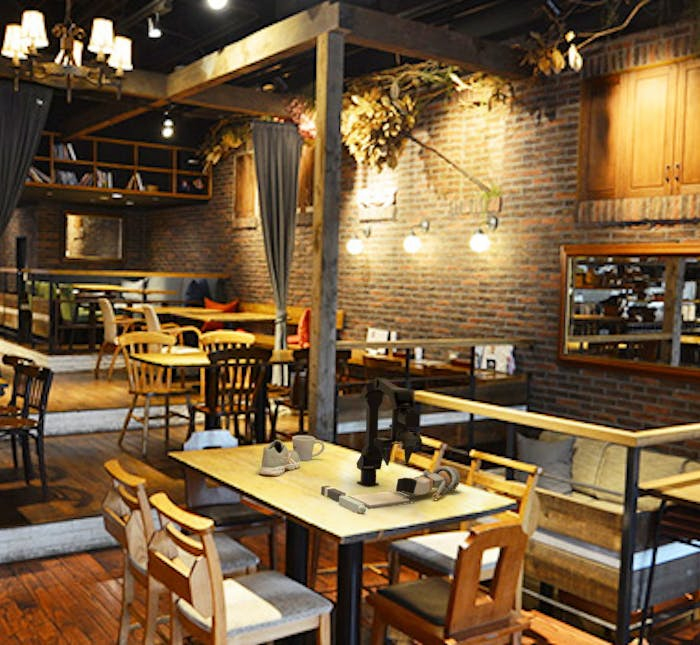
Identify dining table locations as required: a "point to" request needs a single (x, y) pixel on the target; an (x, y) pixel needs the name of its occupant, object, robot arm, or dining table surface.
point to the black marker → (331, 492)
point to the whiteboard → (382, 499)
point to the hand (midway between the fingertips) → (397, 464)
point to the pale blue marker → (352, 504)
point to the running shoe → (278, 459)
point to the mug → (305, 447)
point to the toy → (430, 482)
